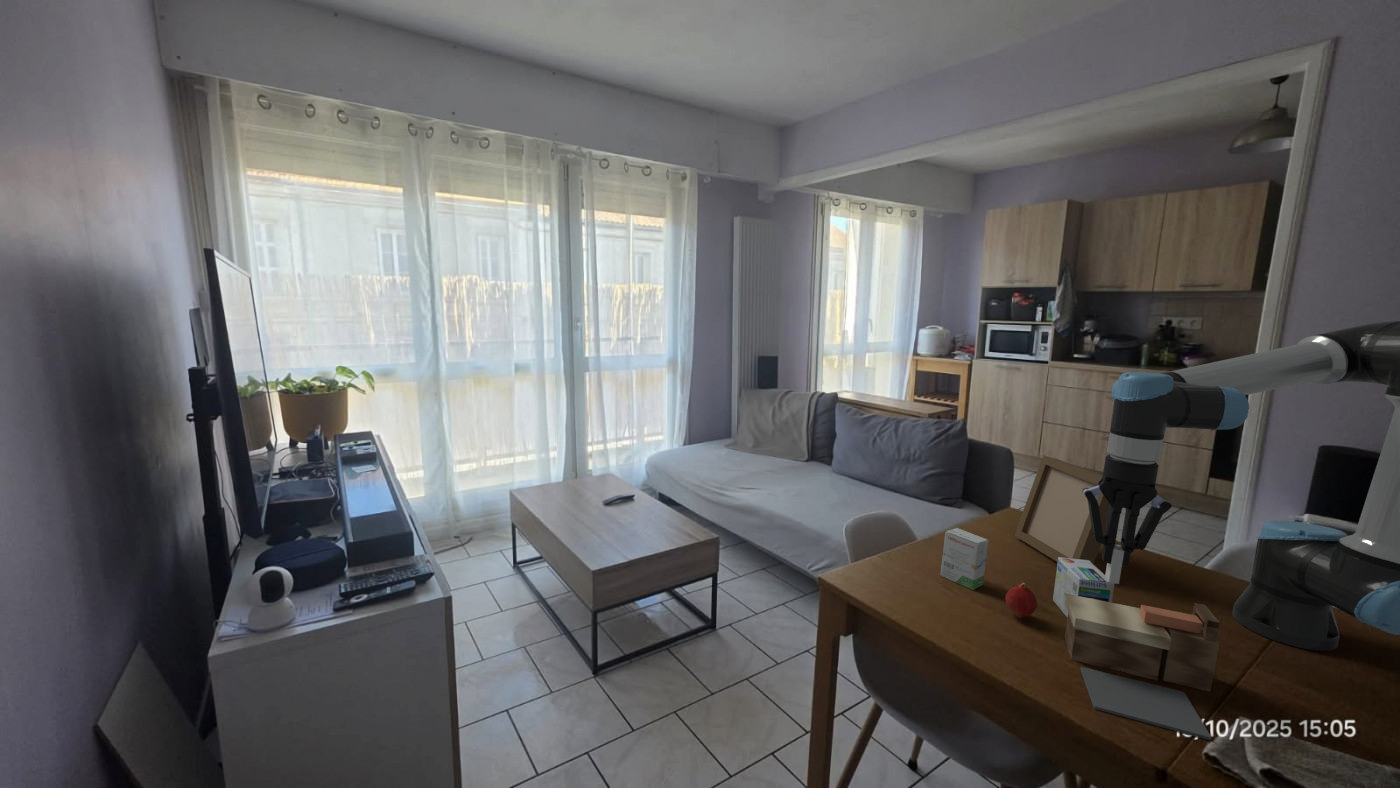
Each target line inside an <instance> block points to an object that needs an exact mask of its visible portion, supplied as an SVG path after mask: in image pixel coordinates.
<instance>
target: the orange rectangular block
mask: <svg viewBox="0 0 1400 788" xmlns="http://www.w3.org/2000/svg"><path fill="white" fill-rule="evenodd" d="M1139 608H1140V616H1141V618H1142V619H1143V621H1144V622H1145V623H1150V624H1155V625H1160V626H1164V627H1169V628H1174V629H1179V630H1183V631H1188V632H1193V633H1198V634H1201V631H1202V626H1203V623H1202V622H1201V621H1200V620H1199V618H1198V617H1197V616H1196V615H1192V614H1189V613H1185V612H1180V611H1175V610H1170V609H1166V608H1165V609H1164V608H1162V607H1161V608H1159V607H1154V606H1150V605H1146V604H1141V605H1140V607H1139Z"/></svg>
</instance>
